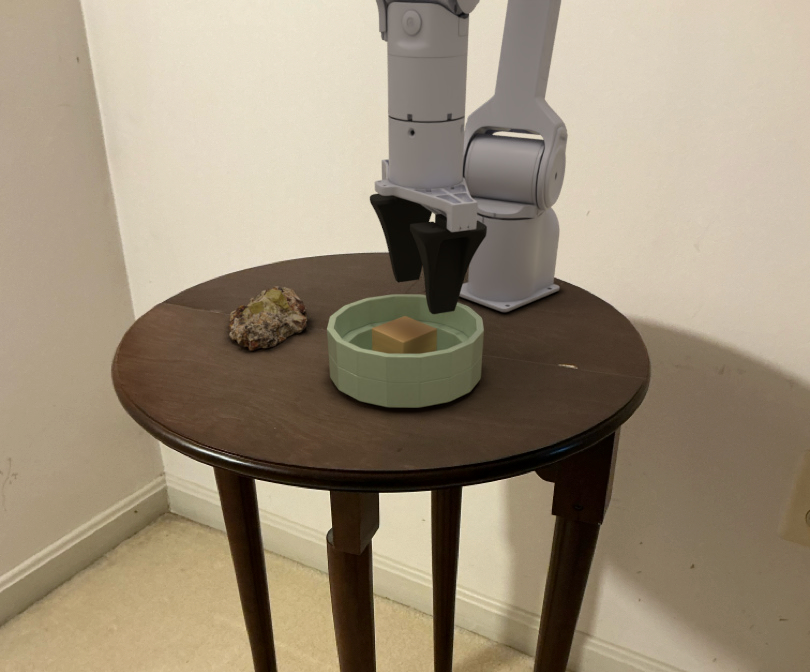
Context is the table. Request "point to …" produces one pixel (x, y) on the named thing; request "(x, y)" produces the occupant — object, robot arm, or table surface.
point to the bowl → (404, 373)
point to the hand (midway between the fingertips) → (423, 295)
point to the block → (404, 337)
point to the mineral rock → (268, 319)
